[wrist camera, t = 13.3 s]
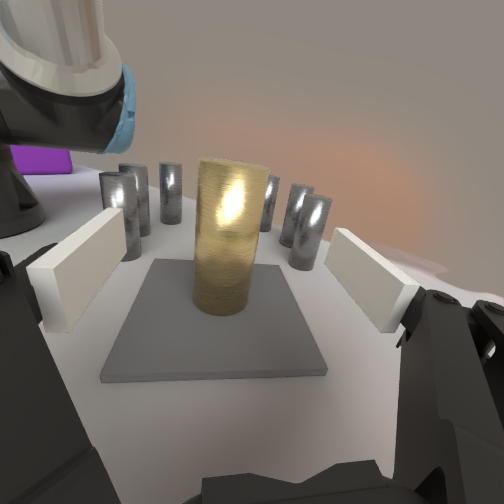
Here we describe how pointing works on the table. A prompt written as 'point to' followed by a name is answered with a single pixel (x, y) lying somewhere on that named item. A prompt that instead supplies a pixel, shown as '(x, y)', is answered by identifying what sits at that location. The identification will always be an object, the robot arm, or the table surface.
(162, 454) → the table surface
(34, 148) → the shopping bag
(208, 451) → the table surface
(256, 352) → the mat
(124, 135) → the robot arm
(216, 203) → the brass canister
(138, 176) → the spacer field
